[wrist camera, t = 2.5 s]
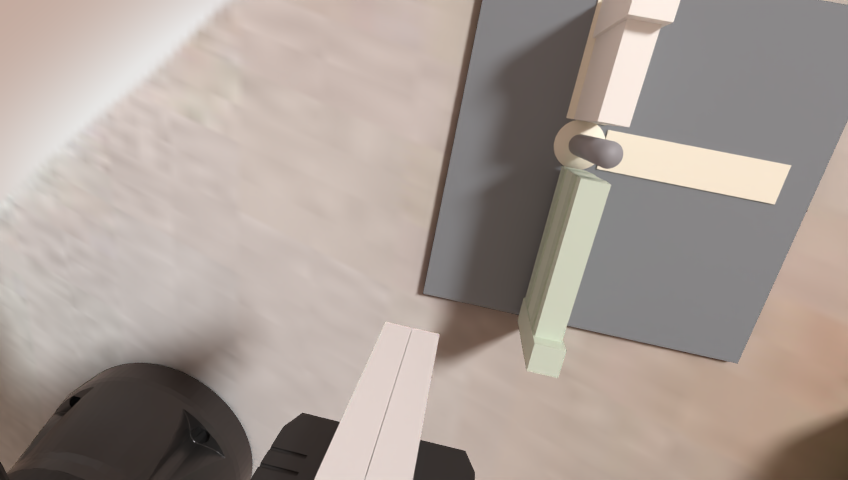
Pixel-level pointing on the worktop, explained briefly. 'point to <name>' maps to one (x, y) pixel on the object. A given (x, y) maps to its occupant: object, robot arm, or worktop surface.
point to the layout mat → (646, 164)
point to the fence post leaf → (618, 71)
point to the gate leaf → (560, 268)
